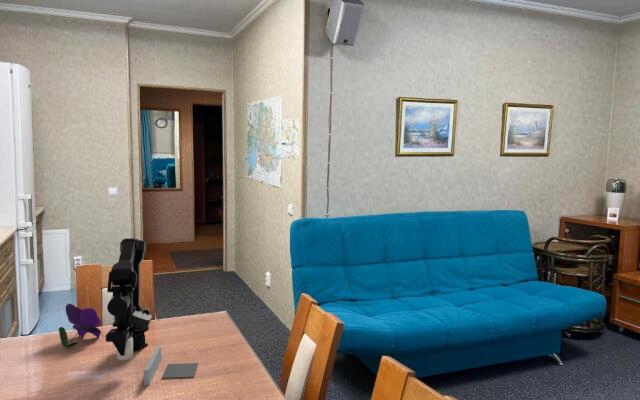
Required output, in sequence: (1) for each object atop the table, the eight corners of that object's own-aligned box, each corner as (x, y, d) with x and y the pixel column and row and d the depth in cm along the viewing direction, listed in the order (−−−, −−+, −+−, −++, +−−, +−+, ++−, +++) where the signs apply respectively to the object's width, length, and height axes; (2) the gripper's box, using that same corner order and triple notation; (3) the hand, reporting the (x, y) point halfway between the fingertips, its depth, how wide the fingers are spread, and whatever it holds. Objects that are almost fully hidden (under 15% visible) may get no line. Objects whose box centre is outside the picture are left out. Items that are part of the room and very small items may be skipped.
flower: (90, 361, 182) (110, 333, 193) (75, 334, 174) (96, 306, 185) (56, 357, 185) (77, 329, 196) (39, 330, 177) (63, 303, 188)
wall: (149, 385, 155) (148, 370, 154) (144, 385, 154) (143, 370, 154) (161, 360, 172) (161, 346, 172) (157, 360, 172) (156, 346, 172)
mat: (161, 378, 159) (161, 377, 159) (168, 365, 169) (168, 363, 169) (193, 377, 160) (193, 376, 160) (197, 364, 170) (197, 362, 170)
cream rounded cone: (113, 358, 160) (112, 340, 160) (125, 352, 165) (124, 335, 164) (124, 361, 158) (124, 343, 158) (136, 355, 163) (136, 337, 162)
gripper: (141, 314, 151) (143, 363, 153) (155, 296, 170) (156, 340, 172) (103, 315, 150) (105, 365, 152) (121, 296, 169) (123, 341, 170)
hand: (125, 352), depth 161 cm, fingers closed on cream rounded cone, 5 cm apart
